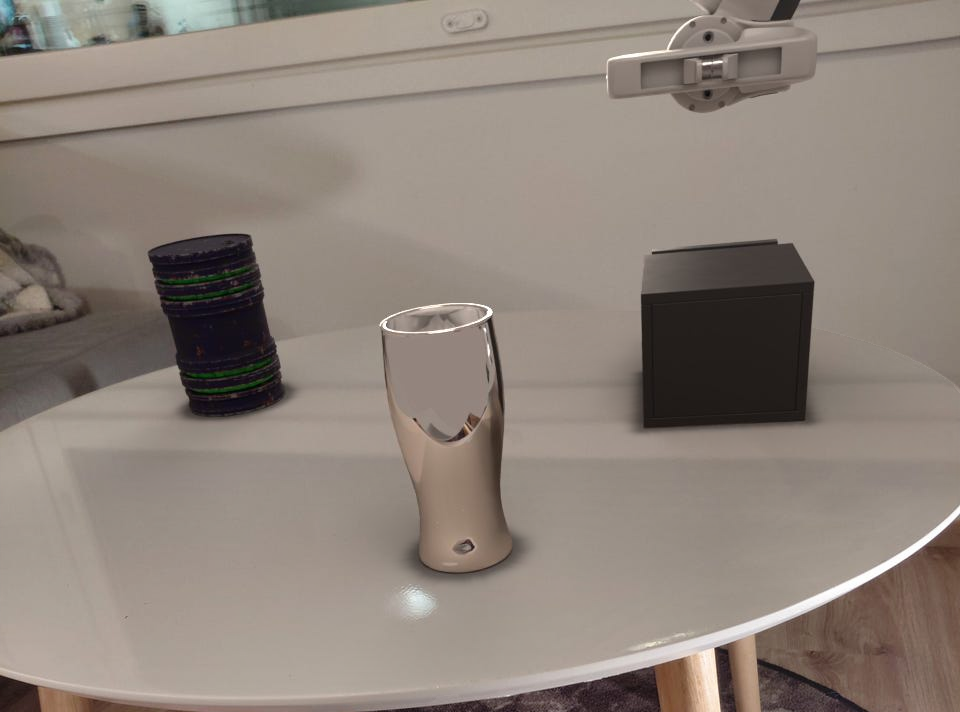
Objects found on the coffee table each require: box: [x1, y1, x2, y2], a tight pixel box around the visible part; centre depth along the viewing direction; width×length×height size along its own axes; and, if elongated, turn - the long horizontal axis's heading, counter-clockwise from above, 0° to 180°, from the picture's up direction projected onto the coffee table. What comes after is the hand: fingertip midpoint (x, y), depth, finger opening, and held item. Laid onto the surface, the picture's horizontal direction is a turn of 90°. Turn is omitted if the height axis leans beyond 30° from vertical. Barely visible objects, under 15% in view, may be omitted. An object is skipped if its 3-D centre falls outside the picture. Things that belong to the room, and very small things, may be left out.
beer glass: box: [379, 302, 513, 574], centre depth 60 cm, size 7×7×15 cm
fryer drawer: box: [651, 238, 779, 255], centre depth 90 cm, size 18×11×9 cm, turn 171°
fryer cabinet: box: [640, 242, 816, 429], centre depth 81 cm, size 15×13×11 cm
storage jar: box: [147, 232, 286, 418], centre depth 95 cm, size 10×10×15 cm
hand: (712, 70), depth 91 cm, fingers closed
